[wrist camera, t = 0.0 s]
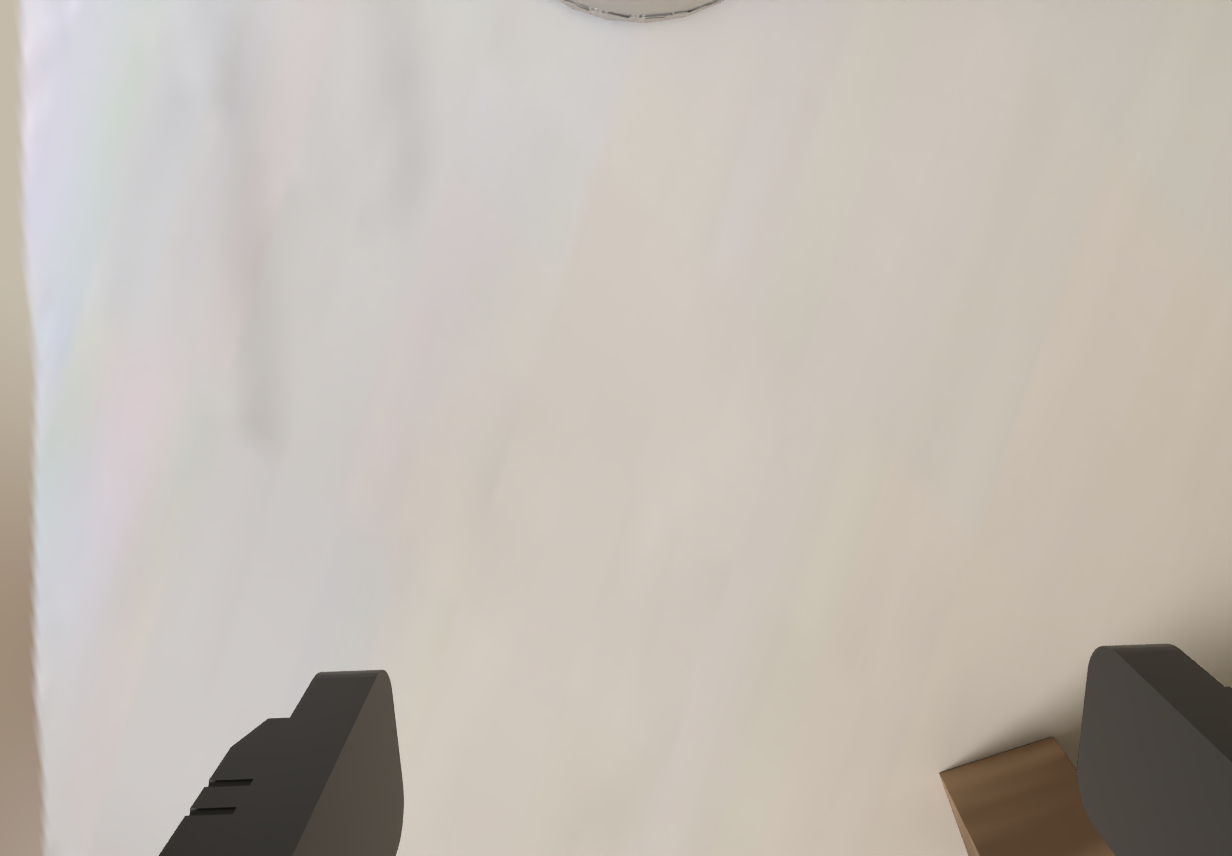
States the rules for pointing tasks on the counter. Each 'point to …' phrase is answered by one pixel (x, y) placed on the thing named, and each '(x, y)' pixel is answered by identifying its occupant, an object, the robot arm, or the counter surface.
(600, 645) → the counter surface
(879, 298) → the counter surface
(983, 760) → the pillar
